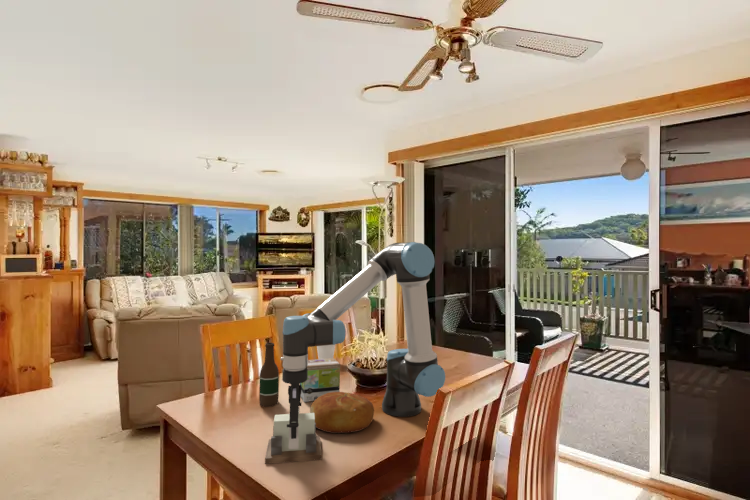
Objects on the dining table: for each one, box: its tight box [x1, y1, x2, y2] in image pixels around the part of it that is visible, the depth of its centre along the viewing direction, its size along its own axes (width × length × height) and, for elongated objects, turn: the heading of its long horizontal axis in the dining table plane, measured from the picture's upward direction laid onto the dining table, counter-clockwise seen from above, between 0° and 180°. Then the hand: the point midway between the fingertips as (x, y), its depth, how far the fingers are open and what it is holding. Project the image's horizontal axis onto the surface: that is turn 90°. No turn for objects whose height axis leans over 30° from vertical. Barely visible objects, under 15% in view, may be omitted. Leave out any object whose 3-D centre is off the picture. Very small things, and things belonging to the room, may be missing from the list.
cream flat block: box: [273, 412, 315, 451], centre depth 124 cm, size 12×5×9 cm, turn 99°
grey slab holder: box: [264, 423, 322, 465], centre depth 124 cm, size 16×12×6 cm
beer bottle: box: [258, 342, 280, 408], centre depth 163 cm, size 8×8×24 cm
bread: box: [309, 391, 375, 434], centre depth 146 cm, size 23×23×10 cm
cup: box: [316, 344, 336, 359], centre depth 222 cm, size 12×12×16 cm
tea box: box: [299, 357, 341, 403], centre depth 171 cm, size 15×10×15 cm, turn 111°
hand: (294, 437), depth 124 cm, fingers open, 13 cm apart
